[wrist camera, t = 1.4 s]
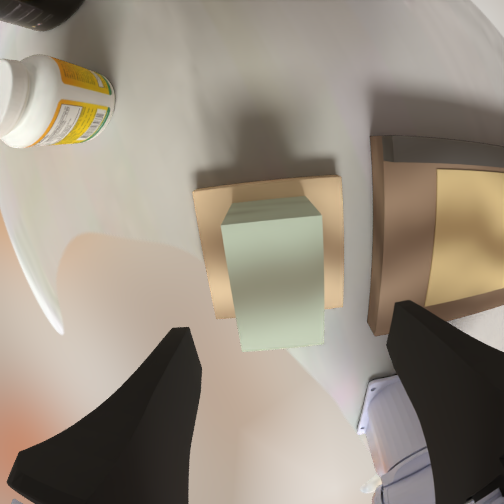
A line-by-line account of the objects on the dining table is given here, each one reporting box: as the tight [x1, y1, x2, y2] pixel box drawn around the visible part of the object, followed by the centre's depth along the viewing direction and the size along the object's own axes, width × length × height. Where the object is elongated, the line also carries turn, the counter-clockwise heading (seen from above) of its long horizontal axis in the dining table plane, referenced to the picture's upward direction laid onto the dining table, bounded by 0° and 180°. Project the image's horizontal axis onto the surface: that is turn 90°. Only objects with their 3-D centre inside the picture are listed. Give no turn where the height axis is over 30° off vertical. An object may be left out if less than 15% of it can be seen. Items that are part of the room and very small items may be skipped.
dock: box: [367, 135, 504, 336], centre depth 17 cm, size 14×18×4 cm
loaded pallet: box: [192, 175, 344, 352], centre depth 17 cm, size 9×9×6 cm
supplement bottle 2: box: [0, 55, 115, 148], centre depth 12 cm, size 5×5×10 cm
